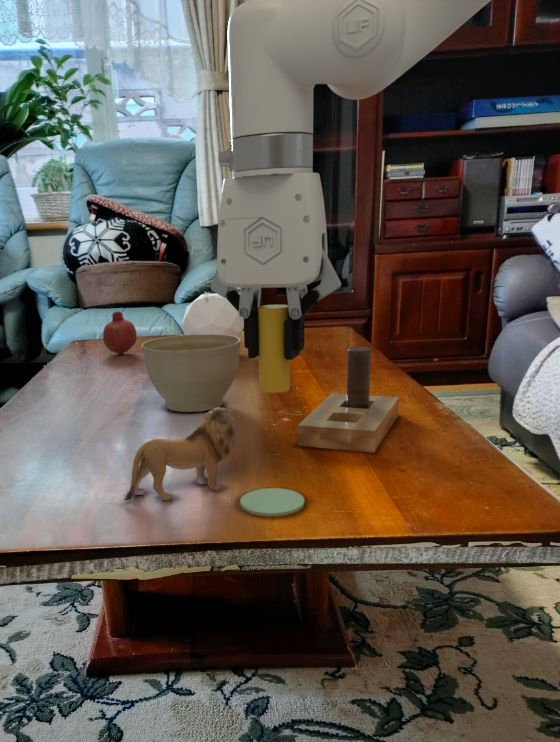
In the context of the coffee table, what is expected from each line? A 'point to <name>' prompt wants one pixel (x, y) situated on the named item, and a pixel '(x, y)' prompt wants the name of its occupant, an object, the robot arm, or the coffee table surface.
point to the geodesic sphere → (212, 317)
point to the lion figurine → (187, 453)
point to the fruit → (119, 334)
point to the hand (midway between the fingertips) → (274, 354)
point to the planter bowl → (192, 369)
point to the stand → (348, 424)
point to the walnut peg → (358, 377)
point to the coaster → (272, 502)
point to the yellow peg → (272, 349)
